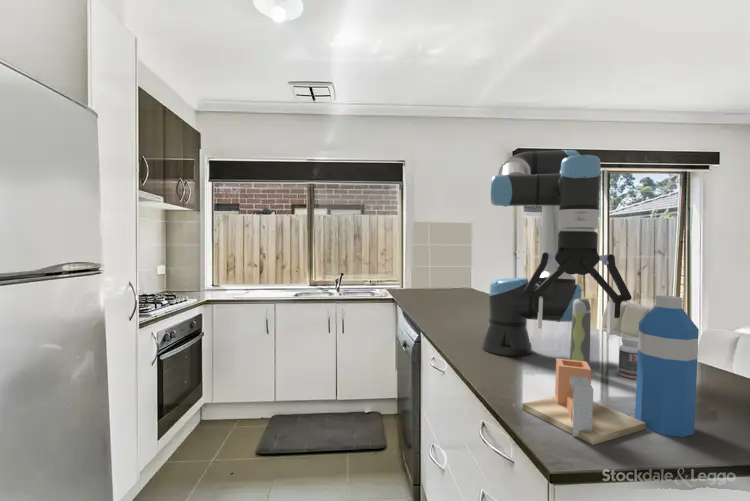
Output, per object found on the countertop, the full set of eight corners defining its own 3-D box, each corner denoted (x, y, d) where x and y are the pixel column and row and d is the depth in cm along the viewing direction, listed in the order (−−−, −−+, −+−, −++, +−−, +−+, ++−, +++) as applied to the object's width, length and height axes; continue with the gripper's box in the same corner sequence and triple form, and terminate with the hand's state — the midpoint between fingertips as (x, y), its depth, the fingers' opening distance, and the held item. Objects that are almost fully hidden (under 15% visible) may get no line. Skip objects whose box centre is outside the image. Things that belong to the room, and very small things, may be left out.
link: (597, 425, 75) (598, 382, 75) (561, 419, 77) (563, 378, 77) (585, 397, 89) (586, 361, 88) (555, 393, 91) (556, 358, 90)
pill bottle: (647, 380, 105) (649, 342, 105) (623, 378, 106) (624, 340, 106) (637, 373, 111) (639, 337, 110) (614, 371, 112) (616, 335, 112)
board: (522, 409, 85) (522, 403, 85) (572, 398, 91) (572, 393, 91) (592, 444, 70) (593, 437, 70) (645, 429, 77) (646, 422, 77)
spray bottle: (573, 368, 113) (575, 297, 113) (592, 372, 110) (594, 299, 109) (566, 372, 110) (569, 298, 109) (585, 376, 106) (588, 300, 106)
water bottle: (623, 415, 83) (628, 293, 82) (666, 415, 84) (671, 293, 83) (659, 437, 74) (665, 300, 73) (707, 437, 74) (713, 300, 74)
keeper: (568, 420, 80) (569, 375, 80) (585, 423, 79) (586, 377, 79) (572, 436, 73) (574, 387, 73) (591, 439, 72) (593, 389, 72)
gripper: (515, 229, 86) (512, 328, 87) (652, 231, 78) (647, 340, 79) (515, 229, 93) (512, 321, 94) (641, 231, 85) (636, 331, 86)
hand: (573, 330), depth 87 cm, fingers open, 13 cm apart
